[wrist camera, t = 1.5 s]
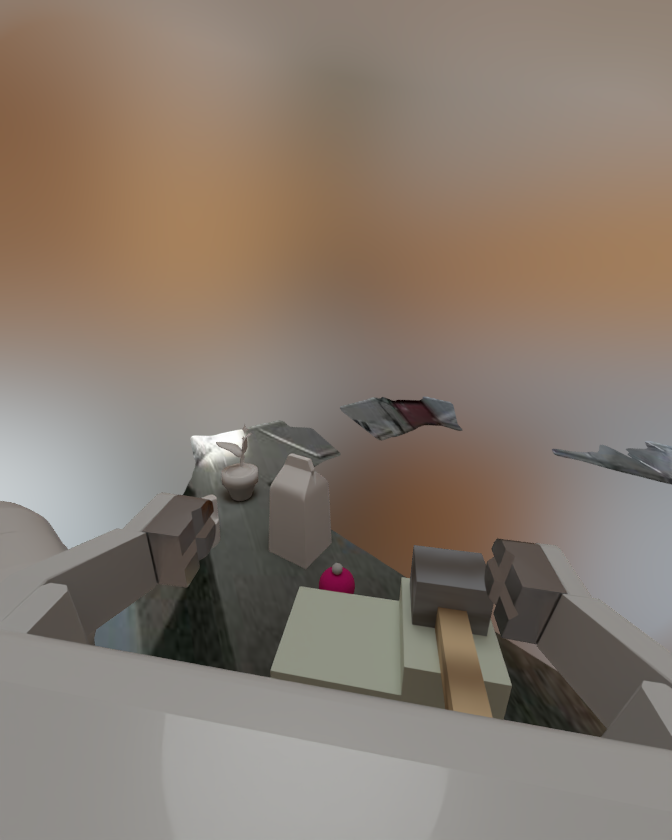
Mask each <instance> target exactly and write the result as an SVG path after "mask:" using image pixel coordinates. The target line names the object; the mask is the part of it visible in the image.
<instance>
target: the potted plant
mask: <svg viewBox="0 0 672 840" xmlns="http://www.w3.org/2000/svg"><path fill="white" fill-rule="evenodd" d="M242 430H243V431H244V433H245V432H246V430H248V429H247V428H246V426H244V428H243V429H242ZM251 434H252V433H251ZM251 434H248V435H246V437H245V438H244V436H243V438H242V439H243V443H242V450H241V448H240V447H239V446H238V445H236V444H233V443H226V442H216V444H217V445H218V446H219V447H221V448H224V449H226V450H228V451H230V452H232V453H233V454H234V455H236V456H237V457H240V456H241V459H240V463H238V464H233V465H230V466H227V467H226V468H224V469H223V470H222V473H221V475H222V485H223V486H224V487H225V488H227V490H228V492H229V494H230V496H231V498H232V499H233V500H236V501H244V500H247V499H249V498H250V497H251V496H252V493H253V489H254V486H255V484H256V483H257V482H258V468H257V467H256V466H255V465H253V464H248V463H245V462H244V453H245V452H246V449H247V437H248V436H250V435H251Z"/></svg>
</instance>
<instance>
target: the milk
mask: <svg viewBox="0 0 672 840" xmlns="http://www.w3.org/2000/svg"><path fill="white" fill-rule="evenodd" d="M330 544H331V526H330V502H329V484H328V481H327V480H326V479H325V478H324V477H323V476H321V475H320V474H319V473H318V472H316V471H315V470H314V467H313V464H312V461H311V459H309V458H306V457H302V456H299V455H295V454H290V455H288V457H287V460H286V462H285V465H284V466H283V468H282V469H281V471H280V472H279V473H278V475H277V476H276V478H275V479H274V481H273V483H272V485H271V487H270V508H269V551H270V552H272V553H274V554H276V555H278V556H280V557H282V558H284V559H286V560H288V561H290V562H292V563H294V564H296V565H298V566H300V567H302V568H304V569H306V568H307V567H308V566H309V565H310V564H311V563H312V562H313V561H314V560H315V559H316V558H317V557H318V556H319V555H320V554H321V553H322V552H323V551H324V550H325V549H326V548H327V547H328V546H329V545H330Z"/></svg>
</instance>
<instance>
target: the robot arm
mask: <svg viewBox="0 0 672 840" xmlns="http://www.w3.org/2000/svg"><path fill="white" fill-rule="evenodd" d="M213 512H214V508H213V502H212V501H211V500H209V499H202V498H196V497H190V496H184V495H175V494H169V493H160V494H157V495H156V496H155V497H154V499H152V500H151V501H150V502H149V503H148V504H147V505H146V506H145V507H144V508H143V509H142V510H141V511H140V512H139V513H138V514H137V515H136V516H135V517H134V518H133V519H132V520H131V521H130V522H129V523H128V524H127V525H126V526H125V527H124V528H123V529H115V530H112V531H110V532H108V533H106V534H103V535H101V536H98V537H96V538H94V539H92V540H89V541H87V542H84V543H82V544H80V545H77V546H75V547H73V548H71V549H67V547H66V546H65V545H64V544H63V543H62V542H61V540H60V539H59V537H58V535H57V534H56V532H55V531H54V529H53V528H52V527H51V525H50V523H48V521H47V520H46V519H45V518H43V517H42V516H41V515H39V514H37V513H35V512H33V511H32V510H30V509H27V508H25V507H23V506H21V505H18V504H15V503H11V502H4V501H0V840H672V653H670V652H669V651H668V650H667V649H665V648H664V647H663V646H661V645H660V644H658V643H657V642H656V641H655V640H653V639H652V638H650V637H649V636H648V635H646V634H645V633H644V632H642V631H641V630H640V629H638V628H637V627H636V626H634V625H633V624H632V623H630V622H629V621H628V620H626V619H625V618H624V617H622V616H621V615H620V614H618V613H617V612H615V611H614V610H613V609H612V608H610V607H609V606H608V605H606V604H605V603H603V602H602V601H601V600H600V599H594V598H592V597H591V595H590V594H589V592H588V591H587V589H586V588H585V586H584V584H583V583H582V581H581V580H580V578H579V577H578V575H577V574H576V572H575V571H574V569H573V568H572V566H571V564H570V563H569V561H568V560H567V558H566V557H565V555H564V554H563V552H562V551H561V549H560V548H559V547H557V546H556V545H548V544H540V543H535V544H534V543H528V542H520V541H512V540H504V539H496V541H495V542H494V544H493V546H492V552H493V554H494V557H493V558H492V559H490V560H489V561H487V564H486V568H485V577H484V582H485V588H486V592H487V595H488V598H489V599H490V600H491V601H492V602H493V603H494V604H495V605H496V607H495V610H494V616H495V619H496V622H497V625H498V628H499V631H500V634H501V637H502V638H505V639H511V640H516V641H521V642H527V643H532V644H537V647H538V648H539V649H540V650H541V652H542V653H543V654H544V655H545V656H546V658H547V659H548V660H549V661H550V662H551V663H552V665H553V666H554V667H555V668H556V669H557V670H558V672H559V673H560V674H561V675H562V676H563V677H564V679H565V680H566V681H567V682H568V683H569V684H570V686H571V687H572V688H573V689H574V690H575V691H576V693H577V694H578V695H579V696H580V697H581V698H582V700H583V701H584V702H585V703H586V704H587V706H588V707H589V708H590V709H591V710H592V711H593V713H594V714H595V715H596V716H597V717H598V718H599V720H600V721H601V722H602V723H603V724H604V725H605V727H606V728H607V730H606V731H605V733H604V734H603V735H602V737H596V736H590V735H585V734H579V733H573V732H568V731H562V730H557V729H551V728H546V727H540V726H535V725H529V724H524V723H518V722H513V721H507V720H501V719H496V718H490V717H485V716H479V715H474V714H468V713H463V712H457V711H452V710H446V709H441V708H435V707H429V706H424V705H418V704H413V703H407V702H402V701H396V700H391V699H385V698H380V697H374V696H369V695H363V694H357V693H352V692H346V691H341V690H335V689H330V688H324V687H319V686H313V685H308V684H302V683H296V682H291V681H285V680H280V679H274V678H269V677H263V676H258V675H252V674H247V673H241V672H236V671H230V670H225V669H219V668H214V667H208V666H203V665H197V664H192V663H187V662H181V661H176V660H170V659H165V658H159V657H153V656H148V655H142V654H137V653H131V652H126V651H120V650H115V649H109V648H104V647H98V646H95V641H94V636H95V632H96V629H97V628H99V627H100V626H102V625H103V624H104V623H106V622H107V621H109V620H110V619H111V618H113V617H114V616H116V615H117V614H118V613H120V612H121V611H122V610H124V609H125V608H127V607H128V606H129V605H131V604H132V603H134V602H135V601H136V600H138V599H139V598H141V597H142V596H143V595H145V594H146V593H148V592H149V591H150V590H152V589H153V588H155V587H156V586H157V584H164V585H172V586H180V587H188V586H189V584H190V582H191V581H192V579H193V578H194V576H195V574H196V573H197V571H198V570H199V568H200V567H199V560H200V559H202V558H204V557H205V556H207V555H208V553H209V551H210V550H211V548H212V546H213V543H214V540H215V534H216V524H215V522H214V521H213V519H212V518H211V517H210V516H211V515H212V513H213Z"/></svg>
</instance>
